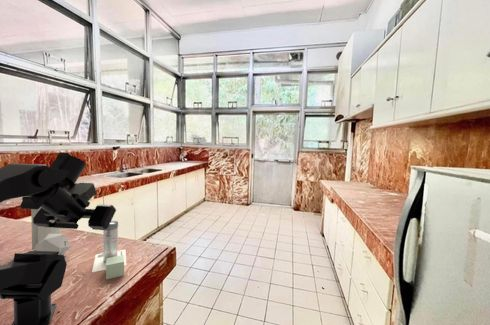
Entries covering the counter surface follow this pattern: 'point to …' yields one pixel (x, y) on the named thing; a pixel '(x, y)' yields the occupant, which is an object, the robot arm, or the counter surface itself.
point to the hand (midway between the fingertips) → (92, 228)
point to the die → (53, 244)
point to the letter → (101, 265)
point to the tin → (110, 241)
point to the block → (115, 267)
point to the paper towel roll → (40, 230)
